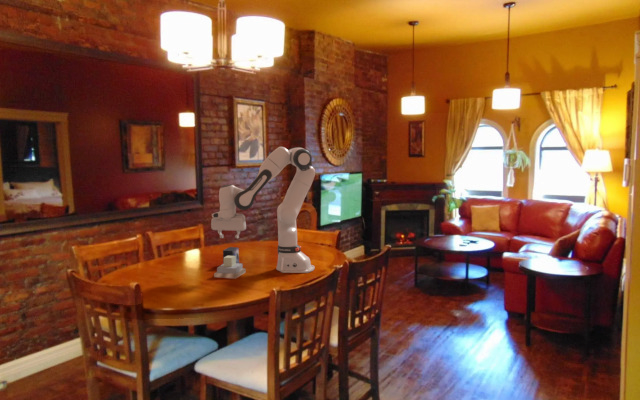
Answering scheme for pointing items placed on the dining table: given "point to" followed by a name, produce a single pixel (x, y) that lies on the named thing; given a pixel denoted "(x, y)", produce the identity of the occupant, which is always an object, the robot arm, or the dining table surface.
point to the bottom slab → (226, 275)
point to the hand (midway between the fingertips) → (229, 238)
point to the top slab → (230, 269)
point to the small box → (231, 253)
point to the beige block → (230, 261)
